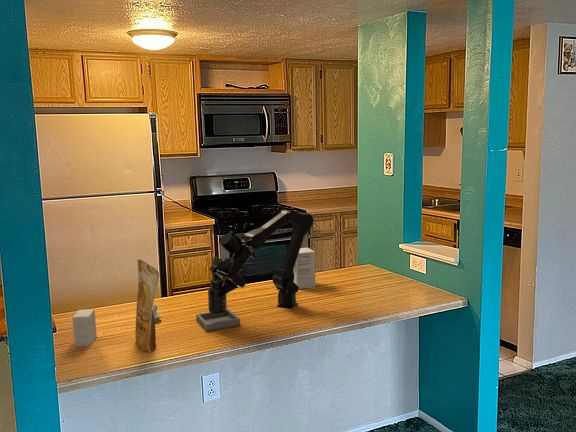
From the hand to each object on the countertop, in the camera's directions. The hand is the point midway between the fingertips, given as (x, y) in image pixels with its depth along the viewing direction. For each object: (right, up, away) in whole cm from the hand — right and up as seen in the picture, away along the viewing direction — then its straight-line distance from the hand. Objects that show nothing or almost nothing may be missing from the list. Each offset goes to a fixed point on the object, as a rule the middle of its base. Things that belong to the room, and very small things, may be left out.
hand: (214, 294), depth 203 cm
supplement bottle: (+1, -7, +2) cm, 7 cm away
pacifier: (-25, -11, +7) cm, 28 cm away
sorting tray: (+1, -11, +2) cm, 11 cm away
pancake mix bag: (-20, -15, -16) cm, 30 cm away
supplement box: (+34, -3, +49) cm, 60 cm away
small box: (-43, -15, -13) cm, 47 cm away
